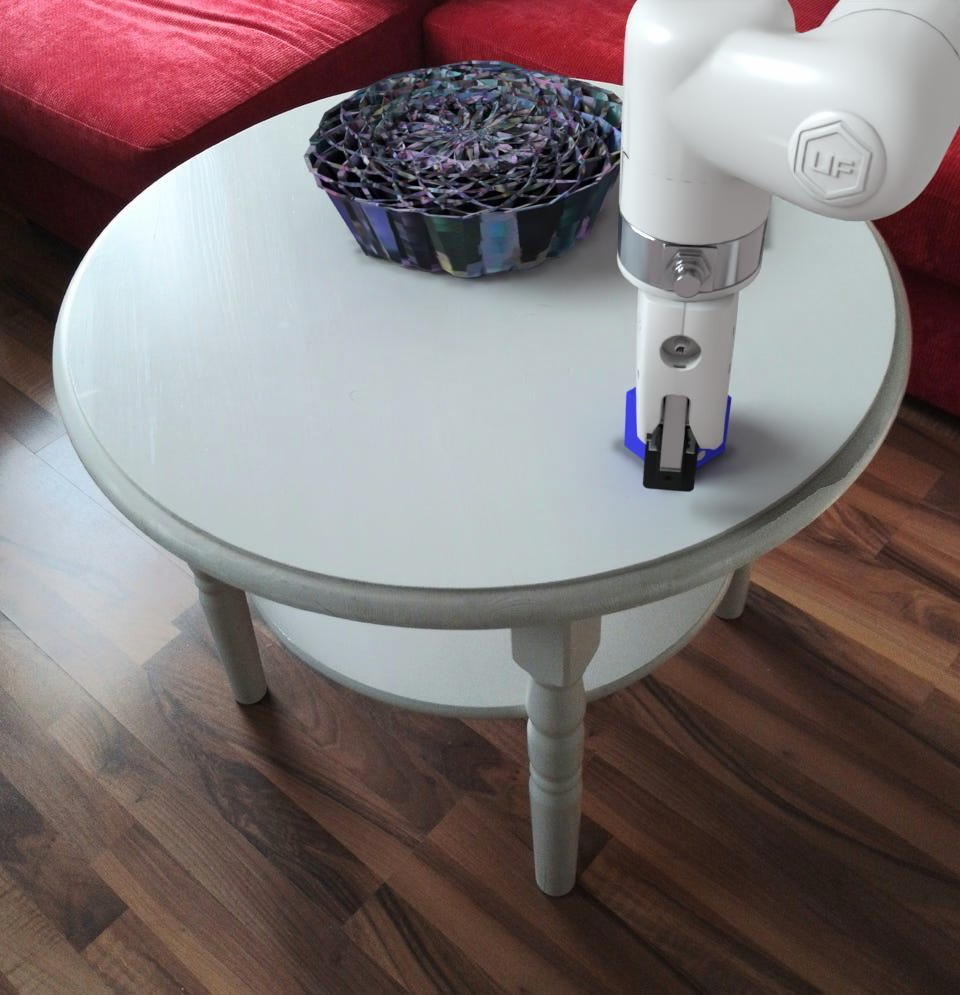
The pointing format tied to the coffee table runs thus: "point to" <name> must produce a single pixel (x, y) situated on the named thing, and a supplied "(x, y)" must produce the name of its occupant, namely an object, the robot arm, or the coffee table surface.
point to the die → (639, 447)
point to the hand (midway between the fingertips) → (668, 480)
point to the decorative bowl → (469, 165)
